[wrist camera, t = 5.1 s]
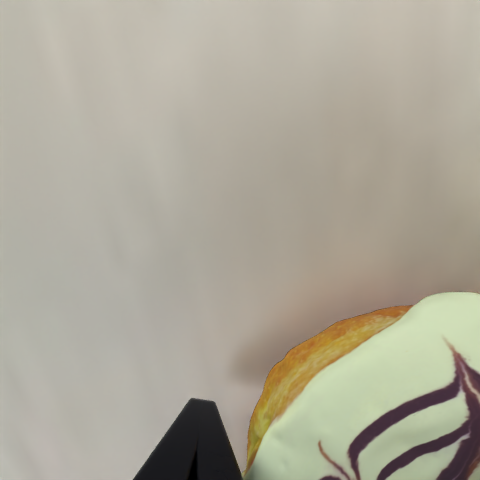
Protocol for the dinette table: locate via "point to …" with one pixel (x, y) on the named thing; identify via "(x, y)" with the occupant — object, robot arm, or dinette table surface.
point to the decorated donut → (376, 399)
